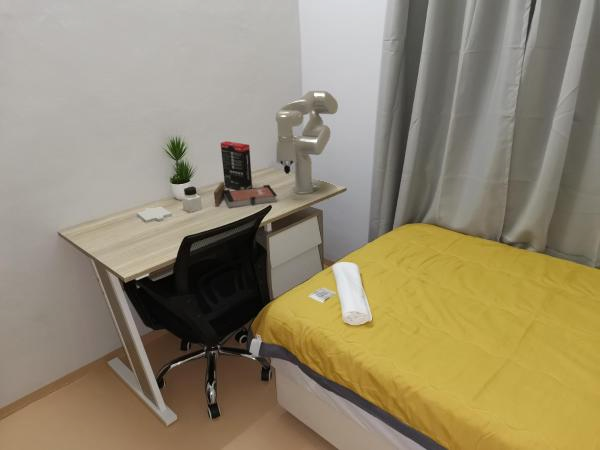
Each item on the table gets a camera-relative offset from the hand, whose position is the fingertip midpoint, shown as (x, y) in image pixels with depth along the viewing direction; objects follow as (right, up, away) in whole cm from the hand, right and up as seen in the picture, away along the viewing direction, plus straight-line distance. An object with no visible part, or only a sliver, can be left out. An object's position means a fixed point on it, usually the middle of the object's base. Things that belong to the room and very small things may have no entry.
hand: (287, 173), depth 211 cm
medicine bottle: (-50, -19, -1) cm, 53 cm away
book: (-21, -14, +10) cm, 27 cm away
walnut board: (-37, -14, +9) cm, 41 cm away
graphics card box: (-30, -6, +28) cm, 41 cm away
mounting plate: (-67, -23, -9) cm, 71 cm away
